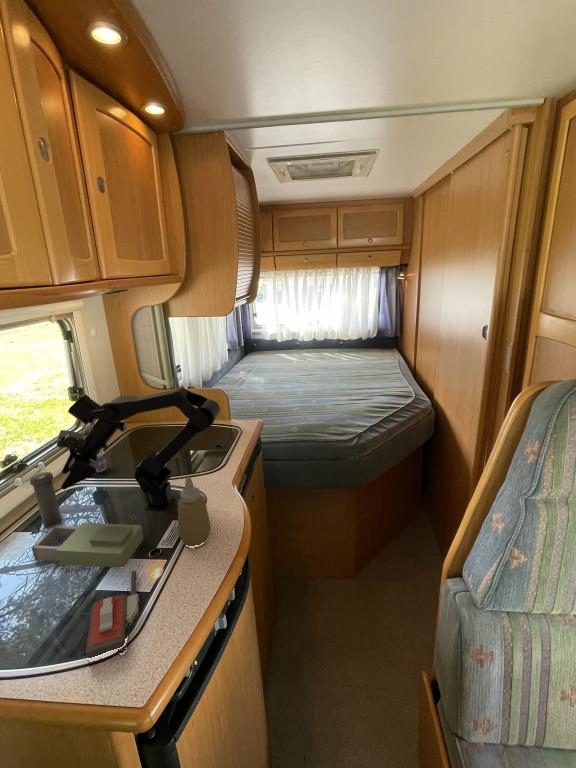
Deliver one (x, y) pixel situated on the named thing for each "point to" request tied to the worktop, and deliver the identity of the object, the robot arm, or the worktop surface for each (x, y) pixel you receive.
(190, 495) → the squeeze bottle
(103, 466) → the pill bottle
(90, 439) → the robot arm
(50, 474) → the grey domed pawn
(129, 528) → the green stepped slab
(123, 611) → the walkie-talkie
